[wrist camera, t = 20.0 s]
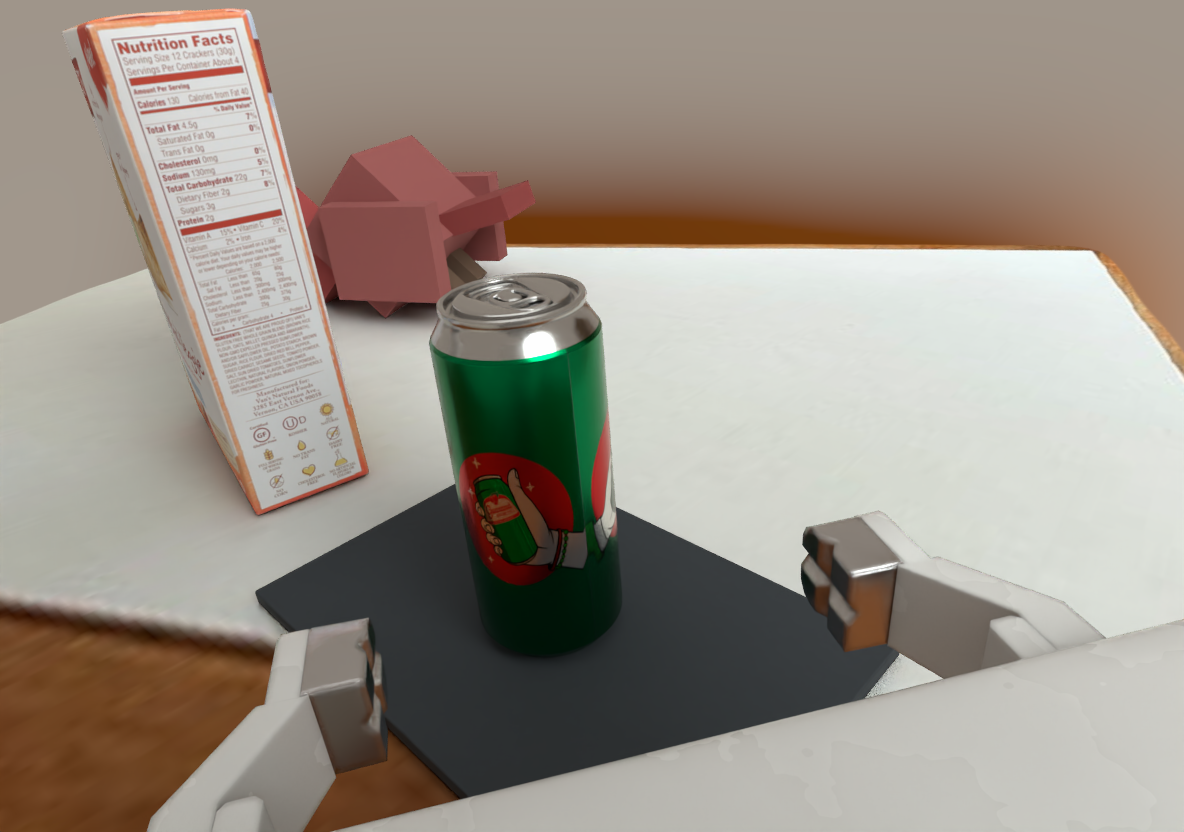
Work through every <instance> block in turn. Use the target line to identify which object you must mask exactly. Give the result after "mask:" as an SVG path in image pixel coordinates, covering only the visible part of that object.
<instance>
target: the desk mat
mask: <svg viewBox="0 0 1184 832" xmlns="http://www.w3.org/2000/svg"><path fill="white" fill-rule="evenodd" d="M616 518H617V531H618V544H619V557H620V570H621V583H622V607H621V611H620V613H619V615H618V618H617V619H616V621H615V622H614V624H613V625H612V626H611V627H610V628H609V629H608V630H607V631H606V632H605V633H604V634H603V635H602V636H601V637H600V638H599V639H598V640H596V641H595V642H594V643H592V644H591V645H589V646H587V647H585V648H584V649H582V650H579V651H577V652H574V653H572V654H568V655H564V656H559V657H549V658H541V657H532V656H527V655H523V654H520V653H517V652H514V651H512V650H510V649H508V648H506V647H504V646H502V645H501V644H499V643H497V642H496V641H495V640H494V639H493V638H491V637H490V635H489V634H488V633H487V632H486V631H485V629H484V627H483V625H482V622H481V618H480V613H479V608H478V602H477V597H476V592H475V586H474V581H473V576H472V570H471V565H470V560H469V554H468V549H467V544H466V538H465V533H464V528H463V522H462V517H461V512H460V506H459V501H458V496H457V490H456V485H455V484H454V485H452V486H450V487H448V488H446V489H445V490H443V491H441V492H439V493H437V494H435V495H433V496H432V497H430V498H428V499H426V500H424V501H422V502H420V503H418V504H417V505H415V506H413V507H411V508H409V509H407V510H405V511H404V512H402V513H400V514H398V515H396V516H394V517H392V518H391V519H389V520H387V521H385V522H383V523H381V524H379V525H378V526H376V527H374V528H372V529H370V530H368V531H366V532H365V533H363V534H361V535H359V536H357V537H355V538H353V539H352V540H350V541H348V542H346V543H344V544H342V545H340V546H339V547H337V548H335V549H333V550H331V551H329V552H327V553H325V554H324V555H322V556H320V557H318V558H316V559H314V560H312V561H311V562H309V563H307V564H305V565H303V566H301V567H299V568H298V569H296V570H294V571H292V572H290V573H288V574H286V575H285V576H283V577H281V578H279V579H277V580H275V581H273V582H272V583H270V584H268V585H266V586H264V587H262V588H260V589H259V590H257V591H256V596H257V599H258V602H259V603H260V604H261V605H262V606H263V607H264V608H265V609H266V610H267V611H268V612H269V613H270V614H271V615H272V616H273V617H274V618H276V619H277V620H278V621H279V622H280V623H281V624H282V625H283V626H284V627H285V628H286V629H287V630H288V631H289V632H290V633H291V632H296V631H301V630H306V629H311V628H315V627H321V626H326V625H332V624H337V623H342V622H348V621H353V620H359V619H364V618H370V620H371V621H372V624H373V628H374V631H375V634H376V647H375V651H377V652H378V653H380V654H381V656H382V660H383V664H384V669H385V674H386V681H387V692H388V709H387V710H386V712H385V713H384V717H385V721H386V725H387V727H388V728H389V729H390V730H391V731H392V732H393V733H394V734H395V735H396V736H397V737H398V738H399V739H400V740H401V741H402V742H403V743H404V744H405V745H406V746H407V747H408V748H409V749H410V750H411V751H412V752H413V753H414V754H415V755H416V756H417V757H418V758H419V759H420V760H421V761H422V762H423V763H425V764H426V765H427V766H428V767H429V768H430V769H431V770H432V771H433V772H434V773H435V774H436V775H437V776H438V777H439V778H440V779H441V780H442V781H443V782H444V783H445V784H446V785H447V786H448V787H449V788H450V789H451V790H452V791H453V792H454V793H455V794H456V795H457V796H458V797H459V798H460V799H465V798H469V797H473V796H477V795H481V794H485V793H489V792H493V791H497V790H501V789H505V788H509V787H513V786H517V785H521V784H525V783H529V782H533V781H537V780H541V779H545V778H549V777H553V776H557V775H561V774H565V773H569V772H573V771H577V770H581V769H585V768H589V767H593V766H597V765H601V764H605V763H609V762H613V761H617V760H621V759H625V758H629V757H633V756H637V755H641V754H645V753H649V752H653V751H657V750H661V749H665V748H669V747H673V746H677V745H681V744H685V743H689V742H693V741H697V740H701V739H705V738H709V737H713V736H717V735H721V734H725V733H729V732H733V731H737V730H741V729H745V728H749V727H753V726H757V725H761V724H765V723H769V722H773V721H777V720H781V719H785V718H789V717H793V716H797V715H801V714H805V713H809V712H813V711H817V710H821V709H825V708H830V707H834V706H838V705H842V704H846V703H850V702H854V701H858V700H862V699H864V698H865V697H866V695H867V694H868V693H869V692H870V690H871V689H872V688H873V687H874V685H875V684H876V683H877V682H878V680H879V679H880V678H881V677H882V675H883V674H884V673H885V672H886V670H887V669H888V668H889V667H890V665H891V664H892V663H893V662H894V660H895V659H896V658H897V657H898V655H899V652H897V651H896V650H894V649H892V648H891V647H889V646H887V645H888V643H887V644H882V645H878V646H873V647H868V648H863V649H858V650H854V651H849V652H844V651H843V649H842V648H841V646H840V645H839V644H838V642H837V641H836V640H835V638H834V637H833V636H832V634H831V633H830V631H829V630H828V629H827V619H828V617H825V616H823V615H821V614H819V613H817V612H815V611H814V609H813V608H812V606H811V605H810V603H809V602H808V600H807V598H806V597H804V596H802V595H800V594H798V593H796V592H794V591H792V590H790V589H788V588H785V587H783V586H781V585H779V584H777V583H775V582H773V581H771V580H769V579H766V578H764V577H762V576H760V575H758V574H756V573H754V572H752V571H750V570H748V569H745V568H743V567H741V566H739V565H737V564H735V563H733V562H731V561H729V560H726V559H724V558H722V557H720V556H718V555H716V554H714V553H712V552H710V551H707V550H705V549H703V548H701V547H699V546H697V545H695V544H693V543H691V542H689V541H686V540H684V539H682V538H680V537H678V536H676V535H674V534H672V533H670V532H667V531H665V530H663V529H661V528H659V527H657V526H655V525H653V524H651V523H649V522H646V521H644V520H642V519H640V518H638V517H636V516H634V515H632V514H630V513H627V512H625V511H623V510H621V509H619V508H617V507H616Z"/></svg>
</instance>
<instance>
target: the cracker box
mask: <svg viewBox="0 0 1184 832" xmlns="http://www.w3.org/2000/svg"><path fill="white" fill-rule="evenodd" d="M62 34H63V38H64V40H65V43H66V46H67V49H68V51H69V54H70V57H71V60H72V63H73V65H74V68H75V71H76V74H77V76H78V79H79V82H80V85H81V87H82V90H83V92H84V95H85V98H86V101H87V103H88V106H89V109H90V111H91V114H92V117H93V119H94V122H95V125H96V128H97V130H98V133H99V136H100V138H101V141H102V143H103V146H104V149H105V152H106V154H107V157H108V160H109V163H110V165H111V168H112V171H113V174H114V176H115V179H116V182H117V185H118V187H119V190H120V193H121V196H122V198H123V201H124V204H125V207H126V210H127V212H128V215H129V218H130V220H131V223H132V226H133V229H134V232H135V234H136V237H137V240H138V243H139V245H140V248H141V251H142V253H143V256H144V259H145V261H146V264H147V267H148V270H149V272H150V275H151V278H152V281H153V284H154V286H155V289H156V292H157V295H158V297H159V300H160V303H161V306H162V308H163V311H164V314H165V317H166V320H167V322H168V325H169V328H170V331H171V333H172V336H173V339H174V342H175V344H176V347H177V350H178V353H179V355H180V358H181V361H182V364H183V366H184V369H185V372H186V375H187V377H188V380H189V383H190V386H191V388H192V391H193V394H194V397H195V399H196V402H197V404H198V407H199V410H200V412H201V413H202V415H203V417H204V418H205V420H206V422H207V424H208V426H209V428H210V430H211V432H212V434H213V435H214V437H215V439H216V441H217V443H218V445H219V446H220V448H221V450H222V452H223V454H224V456H225V457H226V459H227V461H228V463H229V465H230V467H231V469H232V471H233V472H234V474H235V476H236V478H237V480H238V482H239V483H240V485H241V487H242V489H243V491H244V493H245V495H246V496H247V498H248V500H249V502H250V504H251V506H252V507H253V509H254V511H255V513H256V514H257V515H260V514H263V513H266V512H268V511H271V510H273V509H276V508H278V507H281V506H284V505H286V504H289V503H292V502H294V501H297V500H300V499H302V498H305V497H308V496H310V495H313V494H316V493H318V492H321V491H323V490H326V489H328V488H331V487H334V486H337V485H340V484H342V483H345V482H348V481H350V480H353V479H356V478H358V477H361V476H363V475H366V474H368V472H369V470H368V466H367V462H366V459H365V455H364V451H363V447H362V444H361V440H360V436H359V432H358V428H357V424H356V420H355V416H354V412H353V409H352V405H351V401H350V397H349V393H348V389H347V386H346V382H345V378H344V374H343V370H342V367H341V363H340V359H339V355H338V351H337V348H336V344H335V340H334V336H333V332H332V328H331V324H330V320H329V316H328V312H327V308H326V304H325V300H324V296H323V292H322V288H321V285H320V281H319V277H318V273H317V269H316V265H315V261H314V257H313V253H312V249H311V245H310V242H309V238H308V234H307V230H306V226H305V222H304V218H303V214H302V210H301V207H300V203H299V199H298V195H297V191H296V187H295V183H294V179H293V176H292V171H291V167H290V164H289V159H288V156H287V152H286V147H285V143H284V139H283V135H282V131H281V127H280V123H279V119H278V115H277V111H276V107H275V103H274V100H273V95H272V92H271V87H270V83H269V79H268V76H267V72H266V68H265V64H264V60H263V56H262V51H261V47H260V43H259V39H258V37H257V33H256V30H255V25H254V21H253V18H252V15H251V13H250V12H249V11H248V10H245V9H217V10H202V11H190V10H185V11H170V12H152V13H138V14H126V15H119V16H113V17H105V18H100V19H96V20H93V21H90V22H86V23H83V24H80V25H77V26H75V27H72V28H70V29H67V30H64V31H63V32H62Z"/></svg>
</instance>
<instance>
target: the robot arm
mask: <svg viewBox="0 0 1184 832" xmlns="http://www.w3.org/2000/svg"><path fill="white" fill-rule="evenodd" d="M802 545H803V546H804V548H805V549H806V550H807V552H808V553H809V554H808V555H807V557H806V558H805V560H804V561H803V562H802V564H801V581H802V585H803V589H804V593H805V595H806V597H807V600H808V602H809V603H810V605H811V606H812V608H813V609H814V611H815V612H817V613H819V614H821V615H823V616H825V617H828V619H827V629H828V630H829V631H830V633H831V634H832V636H833V637H834V638H835V640H836V641H837V642H838V644H839V645H840V646H841V648H842V649H843V651H844V652H849V651H854V650H858V649H863V648H868V647H873V646H878V645H882V644H887V643H888V645H887V646H889V647H891V648H892V649H894V650H896V651H897V652H899V653H901V654H903V655H904V656H906V657H908V658H909V659H911V660H913V661H915V662H916V663H918V664H920V665H921V666H923V667H925V668H926V669H928V670H930V671H932V672H933V673H935V674H937V675H938V676H940V677H942V678H943V679H941V680H937V681H934V682H930V683H926V684H922V685H918V686H914V687H910V688H906V689H902V690H898V691H894V692H890V693H886V694H882V695H878V696H874V697H870V698H866V699H862V700H858V701H854V702H850V703H846V704H842V705H838V706H834V707H830V708H825V709H821V710H817V711H813V712H809V713H805V714H801V715H797V716H793V717H789V718H785V719H781V720H777V721H773V722H769V723H765V724H761V725H757V726H753V727H749V728H745V729H741V730H737V731H733V732H729V733H725V734H721V735H717V736H713V737H709V738H705V739H701V740H697V741H693V742H689V743H685V744H681V745H677V746H673V747H669V748H665V749H661V750H657V751H653V752H649V753H645V754H641V755H637V756H633V757H629V758H625V759H621V760H617V761H613V762H609V763H605V764H601V765H597V766H593V767H589V768H585V769H581V770H577V771H573V772H569V773H565V774H561V775H557V776H553V777H549V778H545V779H541V780H537V781H533V782H529V783H525V784H521V785H517V786H513V787H509V788H505V789H501V790H497V791H493V792H489V793H485V794H481V795H477V796H473V797H469V798H465V799H461V800H457V801H453V802H449V803H445V804H441V805H436V806H432V807H428V808H424V809H420V810H416V811H412V812H408V813H404V814H400V815H396V816H392V817H388V818H384V819H380V820H376V821H372V822H368V823H364V824H360V825H356V826H352V827H348V828H344V829H340V830H336V831H332V832H1184V619H1182V620H1178V621H1174V622H1170V623H1166V624H1162V625H1158V626H1154V627H1150V628H1146V629H1142V630H1138V631H1134V632H1130V633H1126V634H1122V635H1118V636H1114V637H1110V638H1105V637H1104V636H1103V635H1102V634H1101V633H1100V632H1098V631H1097V630H1096V629H1095V628H1094V627H1093V626H1091V625H1090V624H1089V623H1088V622H1087V621H1086V620H1084V619H1083V618H1082V617H1081V616H1080V615H1079V614H1077V613H1076V612H1075V611H1074V610H1073V609H1072V608H1070V607H1069V606H1068V605H1067V604H1066V603H1065V602H1063V601H1060V600H1058V599H1055V598H1052V597H1049V596H1047V595H1044V594H1041V593H1038V592H1035V591H1033V590H1030V589H1027V588H1024V587H1021V586H1019V585H1016V584H1013V583H1010V582H1008V581H1005V580H1002V579H999V578H996V577H994V576H991V575H988V574H985V573H982V572H980V571H977V570H974V569H971V568H969V567H966V566H963V565H960V564H957V563H955V562H952V561H949V560H946V559H943V558H941V557H933V558H930V557H929V556H928V555H927V554H926V553H925V552H924V551H923V550H922V549H921V548H920V547H919V546H918V545H917V544H916V543H915V542H914V541H913V540H912V539H911V538H910V537H909V536H908V535H907V534H906V533H905V532H904V531H903V530H902V529H901V528H900V527H899V526H897V525H896V524H895V523H894V522H893V521H892V520H891V519H890V518H889V517H888V516H887V515H886V514H885V513H884V512H881V511H875V512H870V513H866V514H862V515H857V516H854V517H852V518H847V519H842V520H838V521H833V522H828V523H824V524H819V525H814V526H810V527H806V529H805V531H804V533H803V544H802ZM375 647H376V634H375V631H374V628H373V624H372V621H371V620H370V618H364V619H359V620H353V621H348V622H342V623H337V624H332V625H326V626H321V627H315V628H311V629H306V630H301V631H296V632H291V633H286V634H281V635H280V637H279V638H278V640H277V643H276V648H275V653H274V658H273V663H272V668H271V673H270V678H269V684H268V689H267V694H266V699H265V704H264V705H261V706H257V707H255V708H254V709H253V710H252V711H251V712H250V713H249V714H248V715H247V717H246V718H245V719H244V720H243V721H242V722H241V723H240V724H239V725H238V726H237V727H236V728H235V729H234V730H233V731H232V732H231V734H230V735H229V736H228V737H227V738H226V739H225V740H224V741H223V742H222V743H221V744H220V745H219V746H218V747H217V748H216V749H215V751H214V752H213V753H212V754H211V755H210V756H209V757H208V758H207V759H206V760H205V761H204V762H203V763H202V764H201V765H200V766H199V767H198V769H197V770H196V771H195V772H194V773H193V774H192V775H191V776H190V777H189V778H188V779H187V780H186V781H185V782H184V783H183V784H182V786H181V787H180V788H179V789H178V790H177V791H176V792H175V793H174V794H173V795H172V796H171V797H170V798H169V799H168V800H167V801H166V803H165V804H164V805H163V806H162V807H161V808H160V809H159V810H158V811H157V812H156V813H155V814H154V815H153V816H152V817H151V820H150V823H149V826H148V829H147V832H303V830H304V829H305V827H306V826H307V824H308V822H309V821H310V819H311V817H312V816H313V814H314V813H315V811H316V809H317V808H318V806H319V804H320V803H321V801H322V800H323V798H324V796H325V795H326V793H327V792H328V790H329V788H330V787H331V785H332V783H333V782H334V780H335V779H336V776H335V775H336V774H340V773H344V772H348V771H351V770H355V769H359V768H363V767H366V766H370V765H374V764H378V763H381V762H385V761H387V744H388V728H387V725H386V721H385V717H384V713H385V712H386V710H387V709H388V692H387V681H386V674H385V669H384V664H383V660H382V656H381V654H380V653H378V652H377V651H375Z"/></svg>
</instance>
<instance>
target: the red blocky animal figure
mask: <svg viewBox="0 0 1184 832" xmlns="http://www.w3.org/2000/svg"><path fill="white" fill-rule="evenodd" d="M295 187H296V186H295ZM296 191H297V195H298V199H299V203H300V207H301V210H302V214H303V218H304V222H305V226H306V230H307V234H308V238H309V242H310V245H311V249H312V253H313V257H314V261H315V265H316V269H317V273H318V277H319V281H320V285H321V288H322V292H323V296H324V300H325V304H326V303H328V302H330V301H331V300H333V299H335V298H337V297H338V296H339V300H360V301H367V302H368V303H369V304H370V305H371V306H373V307H374V308H375V309H376V310H377V311H378V312H379V313H380V314H381V315H382V316H383V317H385V318H387V317H388V316H390V315H391V314H393V313H394V312H396V311H397V310H399V309H400V308H402V307H403V306H404V305H406V304H407V303H409V302H418V303H437V302H438V300H439V299H440V298H441V297H442V296H443V295H444V294H446V293H447V292H449V291H450V290H452V289H454V288H456V287H459V286H461V285H464V284H467V283H470V282H473V281H476V280H480V279H482V278H483V277H484V276H485V275H486V273H487V272H486V271H485V270H484V269H482V268H481V267H480V266H479V265H478V264H477V263H476V262H475V261H500V260H501V259H503V258H504V257H505V256H507V248H506V240H505V232H504V225H503V221H506V220H509V219H511V218H512V217H514V216H515V215H517V214H518V213H520V212H522V211H523V210H525V209H526V208H528V207H529V206H531V205H533V204H534V203H536V202H535V199H534V196H533V194H532V190H531V188H530V185H529V182H528V180H527V181H524V182H521V183H518V184H515V185H512V186H509V187H506V188H503V189H499V186H498V179H497V172H454V173H453V172H450V171H449V170H448V169H446V167H445V166H444V165H442V164H441V163H440V162H439V161H438V160H437V159H436V158H435V157H434V156H433V155H432V154H431V153H430V152H429V151H428V150H427V149H426V148H425V147H423V145H422V144H420V143H419V142H418V141H417V140H416V139H415V138H414V137H413V136H412V135H411V136H408V137H405V138H402V139H399V140H395V141H392V142H389V143H386V144H383V145H380V146H377V147H374V148H371V149H367V150H364V151H361V152H358V153H355V154H352V155H351V156H350V157H349V159H348V161H347V162H346V164H345V166H344V167H343V169H342V171H341V173H340V174H339V176H338V177H337V179H336V181H335V182H334V184H333V186H332V187H331V189H330V191H329V193H328V194H327V196H326V197H325V199H324V201H323V202H322V204H321V206H320V207H318V206H317V205H316V204H315V203H314V202H313V201H311V200H310V199H309V198H308V197H307V196H306V195H305V194H304V193H303V192H302V191H301V190H299V188H297V187H296Z"/></svg>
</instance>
